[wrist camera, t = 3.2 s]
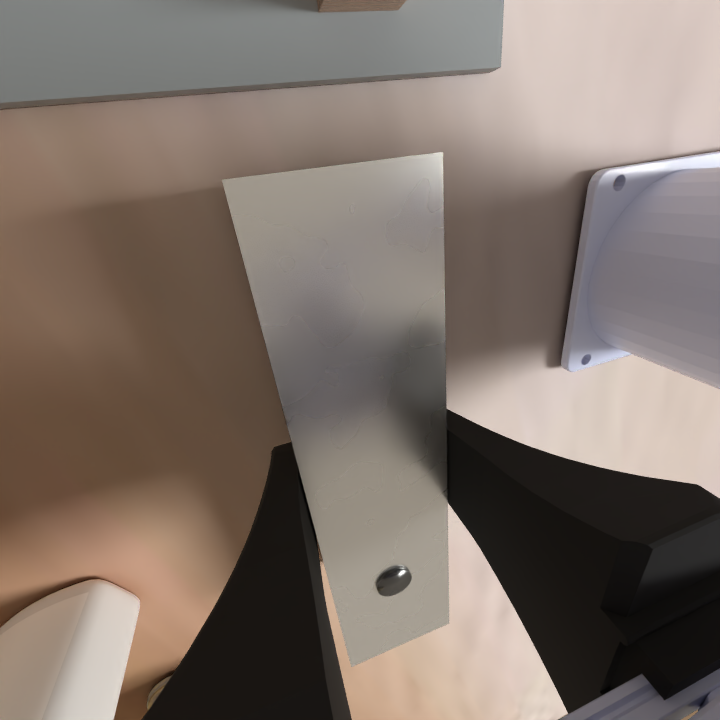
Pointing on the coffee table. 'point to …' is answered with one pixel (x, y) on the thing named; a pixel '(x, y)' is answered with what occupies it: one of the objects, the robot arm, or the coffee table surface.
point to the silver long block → (360, 376)
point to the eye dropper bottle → (67, 654)
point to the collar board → (233, 45)
